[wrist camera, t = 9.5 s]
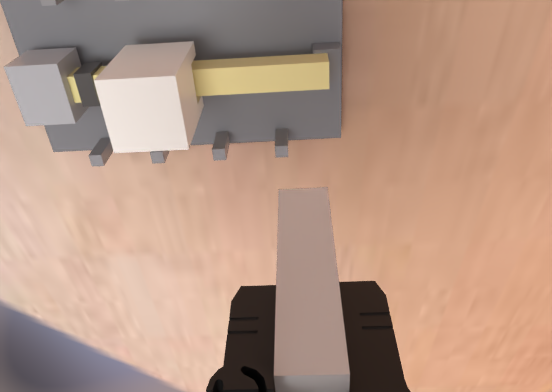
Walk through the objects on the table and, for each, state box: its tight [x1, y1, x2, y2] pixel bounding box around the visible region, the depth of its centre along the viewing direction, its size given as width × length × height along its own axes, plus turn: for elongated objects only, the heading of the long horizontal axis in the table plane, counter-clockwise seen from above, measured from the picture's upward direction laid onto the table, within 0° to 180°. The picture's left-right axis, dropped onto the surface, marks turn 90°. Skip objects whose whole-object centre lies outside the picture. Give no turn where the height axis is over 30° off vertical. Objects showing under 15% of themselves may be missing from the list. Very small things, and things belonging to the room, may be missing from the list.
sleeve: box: [94, 41, 204, 153], centre depth 27 cm, size 4×4×6 cm
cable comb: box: [0, 0, 343, 166], centre depth 30 cm, size 20×11×5 cm, turn 93°
